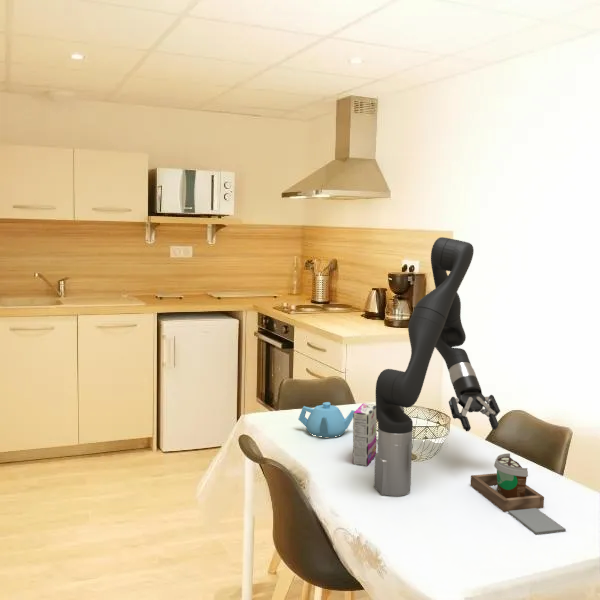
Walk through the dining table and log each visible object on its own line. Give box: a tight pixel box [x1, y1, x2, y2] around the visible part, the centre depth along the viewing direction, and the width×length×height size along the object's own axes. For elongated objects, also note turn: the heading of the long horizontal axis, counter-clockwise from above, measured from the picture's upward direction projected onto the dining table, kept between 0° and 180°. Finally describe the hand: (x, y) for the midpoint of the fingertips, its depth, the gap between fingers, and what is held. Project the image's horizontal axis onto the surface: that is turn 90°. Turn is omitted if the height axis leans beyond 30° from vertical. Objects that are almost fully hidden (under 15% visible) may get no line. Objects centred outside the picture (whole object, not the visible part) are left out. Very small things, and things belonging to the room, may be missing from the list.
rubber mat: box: [507, 508, 567, 536], centre depth 161 cm, size 8×12×1 cm, turn 14°
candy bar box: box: [352, 402, 378, 467], centre depth 202 cm, size 11×5×16 cm, turn 160°
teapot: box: [298, 401, 356, 438], centre depth 229 cm, size 15×15×11 cm
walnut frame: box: [470, 472, 545, 513], centre depth 176 cm, size 11×17×3 cm, turn 14°
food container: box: [493, 453, 529, 498], centre depth 176 cm, size 12×6×10 cm, turn 5°
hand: (482, 429), depth 188 cm, fingers open, 8 cm apart
